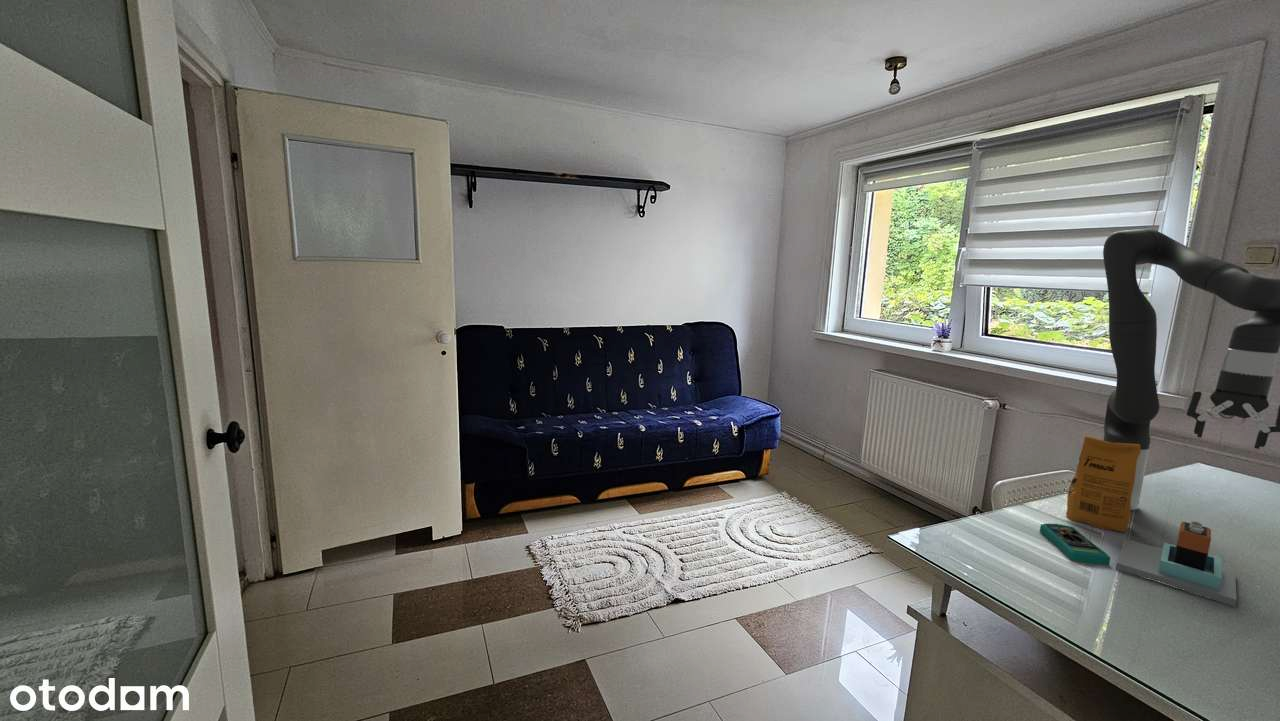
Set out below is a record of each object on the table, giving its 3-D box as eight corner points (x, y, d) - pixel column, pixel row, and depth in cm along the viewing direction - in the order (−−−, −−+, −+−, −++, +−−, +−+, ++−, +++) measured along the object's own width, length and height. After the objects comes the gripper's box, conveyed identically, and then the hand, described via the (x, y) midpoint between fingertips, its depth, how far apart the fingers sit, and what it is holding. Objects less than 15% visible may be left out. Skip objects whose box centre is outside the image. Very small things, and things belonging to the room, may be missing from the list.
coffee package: (1066, 507, 141) (1079, 430, 138) (1128, 523, 133) (1143, 441, 129) (1062, 519, 134) (1075, 437, 131) (1127, 536, 126) (1143, 449, 122)
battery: (1172, 571, 108) (1181, 526, 106) (1173, 559, 112) (1182, 516, 111) (1202, 580, 105) (1212, 534, 103) (1203, 568, 109) (1212, 523, 108)
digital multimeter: (1071, 535, 126) (1073, 524, 126) (1110, 568, 112) (1112, 555, 112) (1037, 531, 128) (1039, 520, 128) (1071, 563, 114) (1073, 550, 113)
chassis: (1115, 569, 111) (1118, 551, 110) (1124, 544, 121) (1127, 528, 121) (1235, 607, 98) (1239, 587, 98) (1233, 576, 109) (1237, 558, 108)
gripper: (1198, 366, 115) (1180, 436, 118) (1300, 379, 104) (1278, 455, 107) (1199, 363, 120) (1182, 430, 123) (1297, 375, 109) (1276, 448, 112)
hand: (1227, 442), depth 115 cm, fingers open, 8 cm apart
